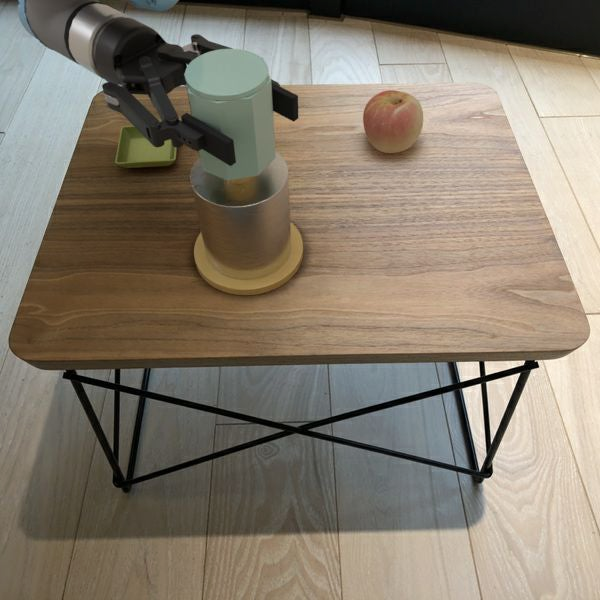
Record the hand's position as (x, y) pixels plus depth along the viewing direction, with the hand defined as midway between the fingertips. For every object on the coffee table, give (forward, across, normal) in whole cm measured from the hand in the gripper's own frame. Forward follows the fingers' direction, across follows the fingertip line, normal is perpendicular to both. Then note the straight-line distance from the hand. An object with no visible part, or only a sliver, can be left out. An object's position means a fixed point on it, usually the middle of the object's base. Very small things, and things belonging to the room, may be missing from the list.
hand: (264, 130), depth 60 cm
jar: (-5, 0, -5) cm, 7 cm away
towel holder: (-5, 0, -22) cm, 22 cm away
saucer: (-30, -5, -22) cm, 37 cm away
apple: (-4, -30, -22) cm, 37 cm away
